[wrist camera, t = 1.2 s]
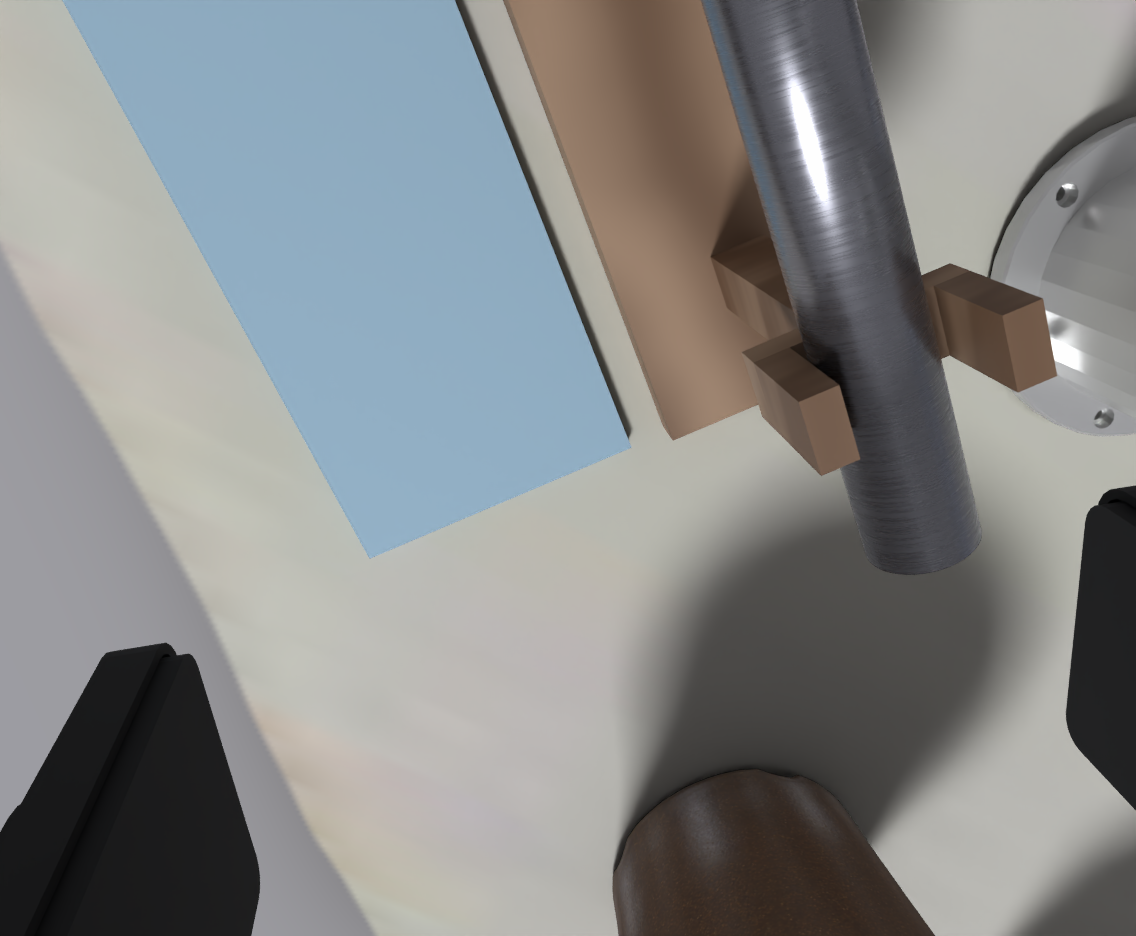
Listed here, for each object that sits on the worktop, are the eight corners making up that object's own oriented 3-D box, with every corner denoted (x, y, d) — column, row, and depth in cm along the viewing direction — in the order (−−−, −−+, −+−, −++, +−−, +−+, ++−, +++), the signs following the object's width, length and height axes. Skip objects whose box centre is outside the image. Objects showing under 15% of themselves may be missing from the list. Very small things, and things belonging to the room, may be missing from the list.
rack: (637, -570, 27) (875, -1210, 14) (876, 336, 39) (1138, 492, 25) (338, -439, 28) (271, -942, 14) (663, 427, 39) (807, 632, 25)
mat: (215, -601, 26) (211, -616, 25) (628, 441, 39) (631, 447, 38) (-169, -433, 26) (-182, -444, 26) (370, 551, 39) (369, 558, 39)
